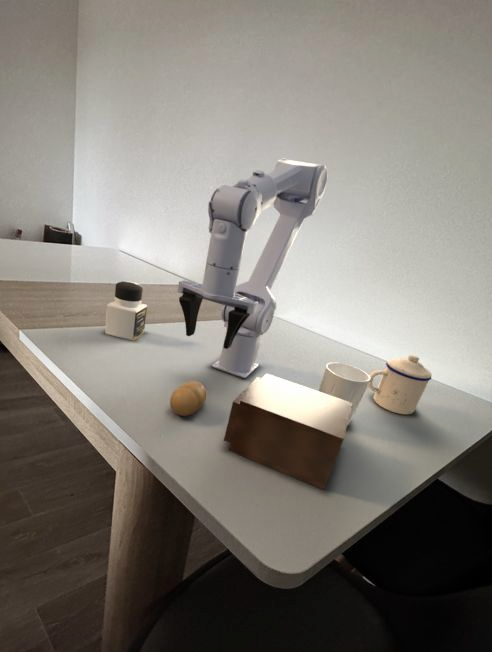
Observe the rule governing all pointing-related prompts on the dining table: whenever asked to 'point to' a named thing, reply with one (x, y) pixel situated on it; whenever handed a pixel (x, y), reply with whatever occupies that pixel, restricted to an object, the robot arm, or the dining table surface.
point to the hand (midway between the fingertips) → (208, 340)
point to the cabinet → (291, 429)
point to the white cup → (345, 383)
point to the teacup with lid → (401, 384)
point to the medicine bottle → (126, 312)
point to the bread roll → (188, 398)
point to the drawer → (236, 411)
